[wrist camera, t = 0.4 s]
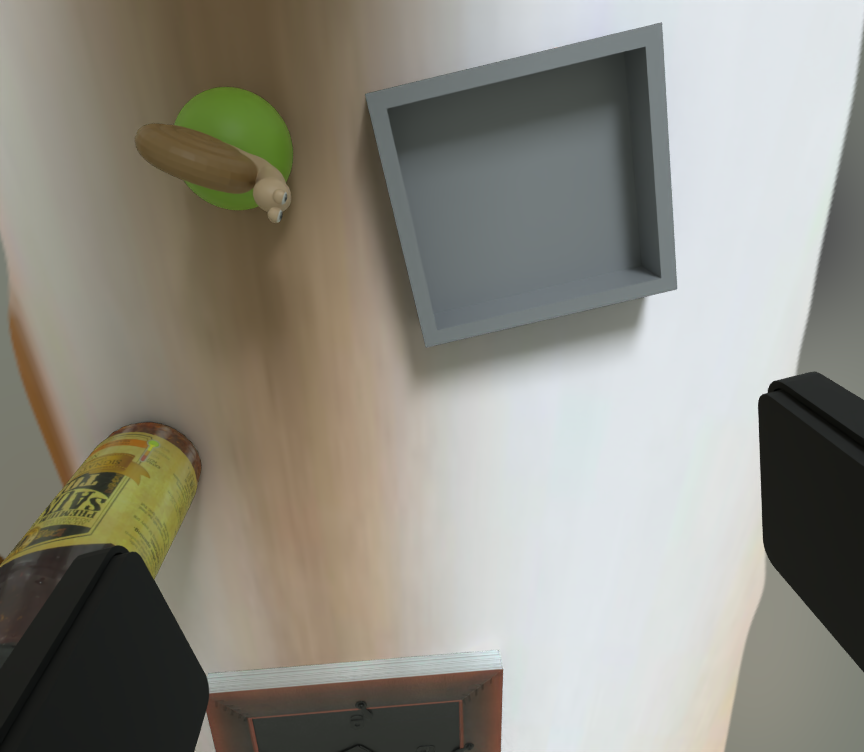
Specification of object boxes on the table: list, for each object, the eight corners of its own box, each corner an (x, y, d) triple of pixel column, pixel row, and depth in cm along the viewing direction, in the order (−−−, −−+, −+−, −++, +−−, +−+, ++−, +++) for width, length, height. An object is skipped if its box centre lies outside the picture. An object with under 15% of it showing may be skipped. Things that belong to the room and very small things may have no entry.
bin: (366, 94, 32) (364, 93, 28) (633, 29, 31) (662, 22, 28) (421, 325, 37) (425, 347, 34) (651, 272, 37) (677, 289, 33)
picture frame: (242, 808, 54) (494, 784, 55) (236, 839, 51) (499, 814, 53) (209, 667, 47) (497, 644, 48) (201, 696, 45) (503, 671, 46)
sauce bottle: (152, 397, 37) (-61, 681, 19) (226, 467, 40) (99, 781, 22) (74, 456, 39) (-197, 777, 20) (151, 522, 41) (-31, 862, 23)
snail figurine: (301, 221, 34) (265, 282, 23) (180, 179, 33) (79, 222, 22) (331, 119, 32) (306, 131, 21) (202, 69, 31) (104, 56, 20)
